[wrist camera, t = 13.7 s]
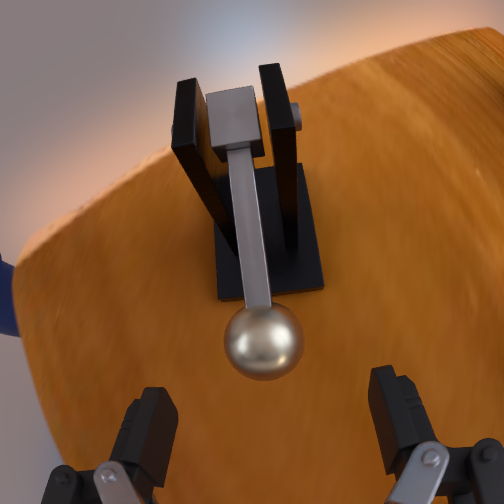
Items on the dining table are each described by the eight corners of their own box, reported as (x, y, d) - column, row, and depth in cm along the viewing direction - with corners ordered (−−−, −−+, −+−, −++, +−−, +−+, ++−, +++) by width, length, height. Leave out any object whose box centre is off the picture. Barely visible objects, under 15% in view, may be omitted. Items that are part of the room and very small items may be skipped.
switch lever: (306, 361, 15) (311, 388, 12) (236, 368, 16) (223, 396, 12) (271, 111, 16) (267, 75, 12) (206, 122, 16) (186, 90, 12)
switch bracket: (323, 289, 24) (355, 195, 10) (221, 302, 25) (129, 228, 11) (301, 169, 28) (297, 28, 14) (215, 182, 28) (156, 54, 15)
